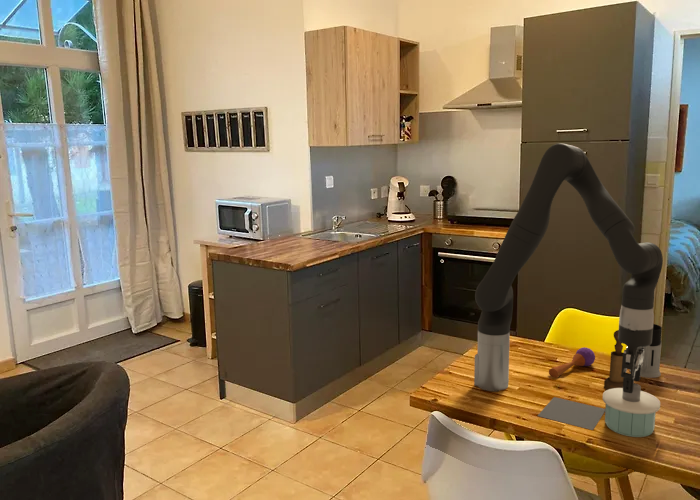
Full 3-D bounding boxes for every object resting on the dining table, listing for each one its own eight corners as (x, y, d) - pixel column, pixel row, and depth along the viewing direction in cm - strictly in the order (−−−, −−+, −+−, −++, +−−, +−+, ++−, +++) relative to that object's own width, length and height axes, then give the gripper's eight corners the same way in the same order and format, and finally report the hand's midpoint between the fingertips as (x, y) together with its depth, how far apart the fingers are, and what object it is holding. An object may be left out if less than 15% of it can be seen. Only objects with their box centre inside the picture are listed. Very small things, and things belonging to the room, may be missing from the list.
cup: (600, 431, 145) (602, 405, 144) (610, 414, 154) (612, 389, 153) (649, 443, 139) (651, 416, 137) (657, 425, 147) (658, 399, 146)
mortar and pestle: (630, 395, 165) (634, 334, 162) (606, 393, 166) (610, 333, 163) (624, 385, 172) (628, 327, 168) (601, 384, 173) (604, 326, 170)
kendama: (543, 363, 181) (580, 344, 192) (546, 381, 181) (583, 361, 192) (560, 365, 176) (597, 346, 187) (563, 384, 176) (600, 363, 187)
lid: (597, 405, 144) (598, 388, 143) (609, 387, 154) (610, 371, 153) (655, 419, 136) (656, 401, 135) (663, 399, 146) (665, 382, 146)
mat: (537, 417, 153) (537, 415, 153) (553, 398, 164) (554, 396, 164) (592, 431, 145) (592, 430, 145) (606, 410, 156) (606, 409, 156)
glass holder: (660, 369, 183) (663, 323, 180) (662, 386, 171) (665, 337, 168) (629, 365, 187) (632, 320, 184) (629, 381, 174) (632, 334, 172)
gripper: (625, 314, 149) (621, 373, 152) (612, 328, 138) (608, 392, 141) (658, 319, 145) (653, 380, 148) (647, 334, 133) (642, 400, 136)
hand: (631, 386), depth 144 cm, fingers open, 8 cm apart
